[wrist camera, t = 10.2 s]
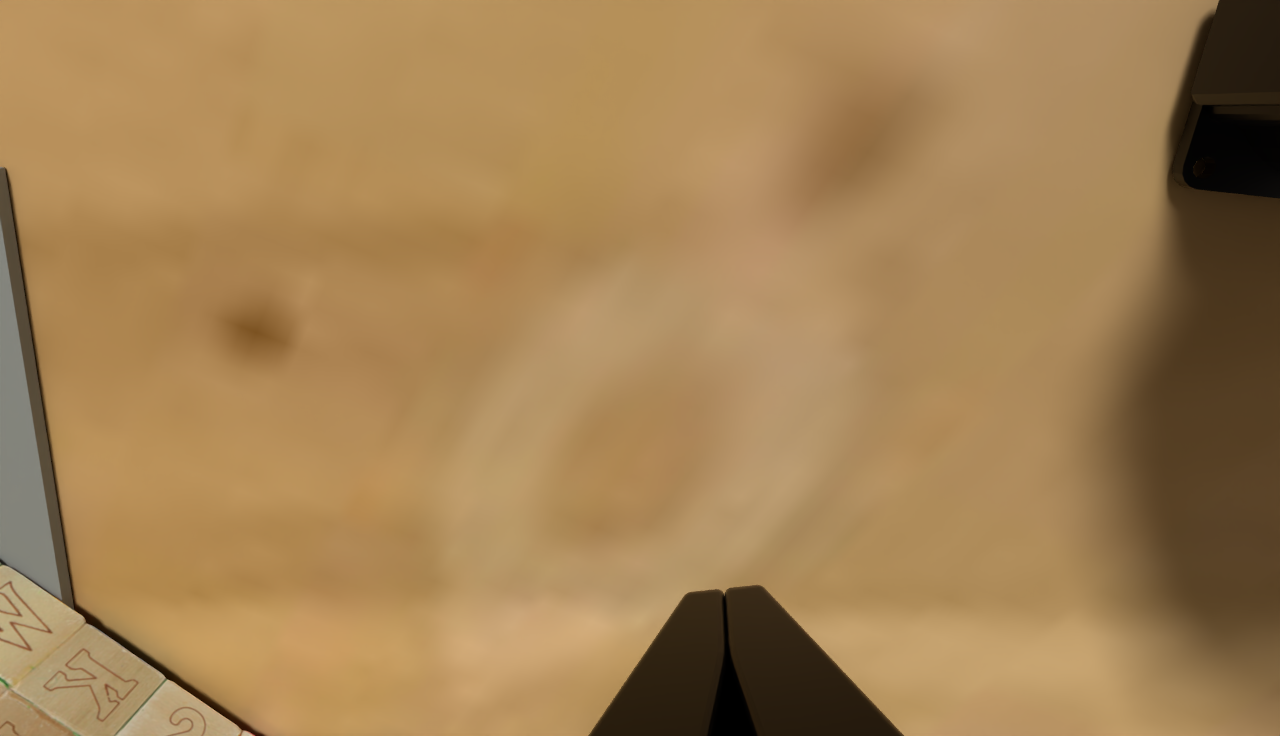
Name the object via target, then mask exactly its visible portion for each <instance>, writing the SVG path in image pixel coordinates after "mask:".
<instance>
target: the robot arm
mask: <svg viewBox="0 0 1280 736" xmlns="http://www.w3.org/2000/svg"><path fill="white" fill-rule="evenodd" d="M1191 94H1192V97H1193V99H1194V100H1193V103H1192V106H1191V110H1190V113H1189V116H1188V119H1187V122H1186V125H1185V129H1184V132H1183V135H1182V138H1181V141H1180V145H1179V148H1178V151H1177V154H1176V157H1175V160H1174V164H1173V171H1172V174H1173V177H1174V180H1175V181H1176V182H1177V183H1178V184H1179V185H1180V186H1183V187H1186V188H1191V189H1198V190H1207V191H1217V192H1226V193H1235V194H1244V195H1253V196H1263V197H1272V198H1280V0H1219V3H1218V6H1217V9H1216V13H1215V16H1214V19H1213V22H1212V25H1211V29H1210V32H1209V35H1208V38H1207V41H1206V45H1205V48H1204V51H1203V54H1202V57H1201V61H1200V64H1199V67H1198V70H1197V73H1196V77H1195V80H1194V83H1193V86H1192V90H1191ZM1201 158H1203V160H1204V161H1205V168H1204V170H1203V172H1202V173H1201V174H1200V175H1198V176H1197V177H1195V175H1194V173H1193V167H1194V165H1195V163H1196V162H1197V161H1198V160H1199V159H1201ZM589 736H904V735H903V734H902V733H901V732H900V731H899V730H898V729H897V728H896V727H895V726H894V725H893V724H892V723H891V722H890V720H889V719H888V718H887V717H886V716H885V715H884V714H883V713H882V712H881V711H880V710H879V709H878V708H877V707H876V706H875V705H874V704H873V702H872V701H871V700H870V699H869V698H868V697H867V696H866V695H865V694H864V693H863V692H862V691H861V690H860V689H859V688H858V687H857V686H856V684H855V683H854V682H853V681H852V680H851V679H850V678H849V677H848V676H847V675H846V674H845V673H844V672H843V671H842V670H841V669H840V668H839V667H838V665H837V664H836V663H835V662H834V661H833V660H832V659H831V658H830V657H829V656H828V655H827V654H826V653H825V652H824V651H823V650H822V649H821V647H820V646H819V645H818V644H817V643H816V642H815V641H814V640H813V639H812V638H811V637H810V636H809V635H808V634H807V633H806V632H805V631H804V629H803V628H802V627H801V626H800V625H799V624H798V623H797V622H796V621H795V620H794V619H793V618H792V617H791V616H790V615H789V614H788V613H787V611H786V610H785V609H784V608H783V607H782V606H781V605H780V604H779V603H778V602H777V601H776V600H775V599H774V598H773V597H772V596H771V595H770V594H769V592H768V591H767V590H766V589H765V588H764V587H762V586H760V585H752V586H743V587H734V588H729V589H728V590H726V592H725V596H724V593H723V592H722V591H721V590H717V589H715V590H706V591H696V592H689V593H687V594H686V595H685V596H684V597H683V598H682V600H681V601H680V603H679V604H678V606H677V607H676V609H675V610H674V612H673V613H672V614H671V616H670V617H669V619H668V620H667V622H666V623H665V625H664V626H663V628H662V629H661V630H660V632H659V633H658V635H657V636H656V638H655V639H654V641H653V642H652V644H651V645H650V647H649V648H648V649H647V651H646V652H645V654H644V655H643V657H642V658H641V660H640V661H639V663H638V664H637V666H636V667H635V668H634V670H633V671H632V673H631V674H630V676H629V677H628V679H627V680H626V682H625V683H624V685H623V686H622V687H621V689H620V690H619V692H618V693H617V695H616V696H615V698H614V699H613V701H612V702H611V704H610V705H609V706H608V708H607V709H606V711H605V712H604V714H603V715H602V717H601V718H600V720H599V721H598V723H597V724H596V725H595V727H594V728H593V730H592V731H591V733H590V734H589Z"/></svg>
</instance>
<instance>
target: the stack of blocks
mask: <svg viewBox="0 0 1280 736" xmlns="http://www.w3.org/2000/svg"><path fill="white" fill-rule="evenodd" d="M0 736H255V735H254V734H252V733H250V732H248V731H243V730H241V729H240V728H239V727H238V726H237V725H236V724H234V723H233V722H231V721H230V720H228V719H227V718H225V717H224V716H222V715H221V714H219V713H218V712H216V711H215V710H213V709H212V708H210V707H209V706H208V705H206V704H205V703H203V702H202V701H200V700H199V699H197V698H196V697H194V696H193V695H192V694H190V693H189V692H187V691H186V690H184V689H183V688H181V687H180V686H178V685H177V684H176V683H174V682H172V681H170V680H167V679H166V678H165V677H164V675H163V674H162V673H161V672H159V671H158V670H156V669H155V668H153V667H152V666H150V665H149V664H147V663H146V662H145V661H143V660H142V659H140V658H139V657H137V656H136V655H134V654H133V653H131V652H130V651H129V650H127V649H126V648H124V647H123V646H121V645H120V644H119V643H117V642H116V641H114V640H113V639H111V638H110V637H109V636H107V635H106V634H104V633H103V632H101V631H100V630H98V629H97V628H95V627H94V626H92V625H89V624H87V623H86V621H85V618H84V617H83V616H82V615H80V614H79V613H77V612H76V611H74V610H72V609H71V608H70V607H68V606H67V605H65V604H64V603H63V602H61V601H60V600H58V599H57V598H55V597H54V596H52V595H51V594H49V593H48V592H46V591H45V590H43V589H42V588H40V587H39V586H37V585H36V584H34V583H33V582H32V581H30V580H29V579H27V578H26V577H24V576H23V575H21V574H20V573H18V572H17V571H15V570H13V569H12V568H10V567H8V566H5V565H2V564H1V563H0Z"/></svg>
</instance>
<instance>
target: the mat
mask: <svg viewBox="0 0 1280 736" xmlns="http://www.w3.org/2000/svg"><path fill="white" fill-rule="evenodd" d="M0 563H1V564H2V565H5V566H8V567H10V568H12V569H13V570H15V571H17V572H18V573H20V574H21V575H23V576H24V577H26V578H27V579H29V580H30V581H32V582H33V583H34V584H36V585H37V586H39V587H40V588H42V589H43V590H45V591H46V592H48V593H49V594H51V595H52V596H54V597H55V598H57V599H58V600H60V601H61V602H63V603H64V604H65V605H67V606H68V607H70V608H71V609H72V610H74V605H73V599H72V592H71V586H70V579H69V573H68V567H67V560H66V554H65V548H64V541H63V535H62V528H61V522H60V516H59V509H58V503H57V497H56V490H55V484H54V477H53V471H52V465H51V458H50V452H49V446H48V439H47V433H46V427H45V420H44V414H43V407H42V401H41V395H40V388H39V382H38V376H37V369H36V363H35V356H34V350H33V344H32V337H31V331H30V325H29V318H28V312H27V305H26V299H25V293H24V286H23V280H22V274H21V267H20V261H19V254H18V248H17V242H16V235H15V229H14V223H13V216H12V210H11V204H10V197H9V191H8V184H7V178H6V172H5V168H3V167H0Z"/></svg>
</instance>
